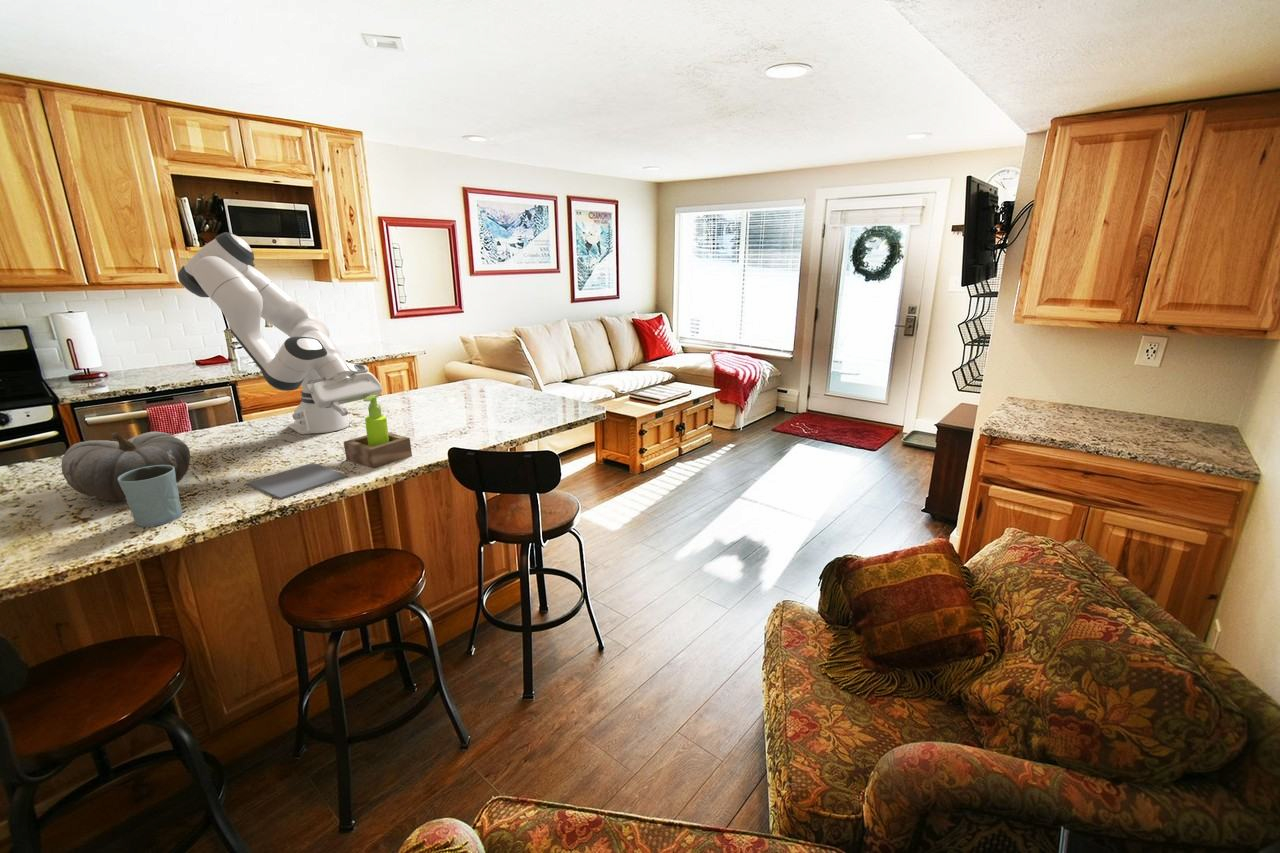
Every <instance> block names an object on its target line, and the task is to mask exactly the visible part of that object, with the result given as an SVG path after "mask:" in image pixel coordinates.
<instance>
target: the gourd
mask: <svg viewBox="0 0 1280 853" xmlns="http://www.w3.org/2000/svg"><path fill="white" fill-rule="evenodd" d="M111 437H112V438H113V439H114V440H116V441H114V440H105V439H104V440H103V439H102V440H94V439H93V440H86V441H80V442H76V443H73V444H72V445H71V446H69V447H68V449H67V450H66V452H65V453H64V454H63V456H62V458H61V473H62V475H63V477H64V479H65V481H66V482H67V484H68V485H69V487H71V488H72V489H74V490H75V491H76V492H77V493H79V494H82V495H85V496H87V497H91V498H96V499H99V500H105V501H111V502H117V501H122V500H127V499H126V496H125V495H124V492H123V490H122V489H121V486H120V484H119V482H118V477H119V476H120V475H122V474H124V473H126V472H128V471H131V470H134V469H138V468H142V467H147V466H154V465H171V466H173V467H174V468H175V475H176V483H177V484H178V483H179V482H181V481H182V480H183V478H184V477H185V475H186V474H187V473H188V471H189V468H190V465H191V464H190V462H191V461H190V460H191V451H190V448H189V447H188V445H187V443H185V442H184V441H183V440H181V439H179V438H177V437H176V436H173V435H172V434H170V433H167V432H163V431H149V432H144V433H141V434H139V435H135V436H132V437H131V438H129V439H126V438H124V437H123V436H121V435H120V434H119V432H113V433H111Z"/></svg>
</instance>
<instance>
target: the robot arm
mask: <svg viewBox="0 0 1280 853" xmlns="http://www.w3.org/2000/svg"><path fill="white" fill-rule="evenodd" d="M254 254H255V253H254V251H253V249H252V248H251V247H250V245H249V243H247V241H245V240H244V239H243V238H241V237H240V236H238V235H236V234H234V233H231V232H227V231H226V232H222V233H220V234H218V235H217V236H215V237H214V239H213V240H211V241H209V242H208V243H206V244H204V245H203V246H201V248H199V250H197V252H196V253H195V254H194V255H193V256H192V257H191V258H190V259H189V261H187V262H186V264H185V265H183V266H182V267H181V268H180V269H179V271H178V272H177V277H178V281H179V282H180V285H182V286H183V288H185V290H187V291H188V292H190V293H191V294H194V295H196V296H197V297H200V298H209V299H211V300H212V302H214V303H215V305H217V307H218V308H219V309H220V311H221V313H222V314H223V316H224V317H225V320H226V321H227V323H228V326H229V329H230V332H231V334H232V335H233V336H234V338H235V339H236V340H237V342H238V343H239V345H240V346H241V347H242V348H243V349H244V351H245V352H246V353H247V355H248V356H249V357H250V358H251V359H252V361H253V362H254V363H255V365H256V366H257V367H258V368H259V370H260V372H261V374H262V376H263V378H264V380H265V381H266V383H267V384H269V385H270V386H271V387H272V388H273V389H275V390H277V391H278V390H279V391H283V392H285V391H286V392H289V391H291V392H292V391H296V390H298V389H300V387H301V391H299V393H300V399H301V402H300V403H299V404H298V406H296V408H295V409H294V410H293V413H292V415H291V416H292V419H293V420H294V421H292V422H289V423H288V425H287V426H288V427H289V428H290V429H292V430H294V431H295V432H296V433H298V434H299V435H308V434H323V433H332V432H335V431H340V430H343V429H346V428H347V427H349V426H350V423H352V422H353V419H352V418H350V417H349V410H348V409H347V406H346V404H348V403H352V402H353V403H354V402H358V401H363V400H364V399H365V398H366V397H368V396H370V395H378V396H380V395H381V394H382V391H383V385H382V383H381V382H380V381H379V379H377V377H376V376H375V375H374V374H373V373H372V372H370V371H369V367H368V366H367V365H365V364H357V363H351V362H347V361H346V360H345V358H343V357H342V354H341V351H340V350H339V349H338V347H337V345H336V344H335V342H334V341H333V340H332V339H331V338H330V331H329V328H328V326H327V324H325V323H324V322H323V321H322V320H321V319H319V318H318V317H317V316H315V315H314V314H313V313H312V312H310V311H309V310H308V309H307V308H305V306H302V305H301V304H300V303H298V302H297V301H296V300H295V299H294V298H292V297H291V296H290V295H288V294H287V292H285V291H284V290H283V289H281V288H280V286H278V285H277V284H276V283H275V282H274V281H272V280H271V278H269V277H267V275H265V274H263V273H262V272H261V271H259V270H258V269H256V268H255V265H256V264H255V262H254V260H255V255H254ZM261 318H262V319H263V320H265V321H266V322H267V323H268V324H270V325H272V326H274V327H275V328H277V329H278V330H279V331H281V332H282V333H284V334H285V335H286V336H287V337H288V338H286V339H285V341H284V342H283V343H282V344H281V346H280V347H279V348H278V351H277V352H276V353H275V352H274V350H273V349H272V348H271V346H270V345H269V344H268V343H267V342H266V340H265V339H264V337H263V335H262V332H261ZM370 405H371V401H370V402H369V404H368V407H369V406H370Z"/></svg>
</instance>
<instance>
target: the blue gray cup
mask: <svg viewBox="0 0 1280 853" xmlns="http://www.w3.org/2000/svg"><path fill="white" fill-rule="evenodd" d="M118 482H119V484H120V486H121V489H122V490H123V492H124V495H125V496H126V499H125V500H126V503H127V505H128V507H129V510H130V513H131V515H132V518H133V520H134V522H135V524H136V525H137V526H138V527H140V528H141V527H142V528H151V527H157V526H163V525H165V524H168V523H172V522H173V521H176V520H178V519H180V518H181V517H182V516H183V509H182V505H181V501H180V495H179V488H178V483H176V475H175V468H174V467H173V466H171V465H154V466H147V467H142V468H138V469H134V470H131V471H128V472H126V473H124V474H122V475H120V476H119V477H118Z"/></svg>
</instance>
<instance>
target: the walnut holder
mask: <svg viewBox="0 0 1280 853" xmlns="http://www.w3.org/2000/svg"><path fill="white" fill-rule="evenodd" d="M388 436H389V442H387V443H384V444H381V445H378V446H374V447H372V446H369V445H368V439H367V434H365V435H363V436H359V437H355V438H352V439H348V440H345V441H343V447H344V454H345V459H346V461H348V462H351V463H353V464H356V465H359V466H364V467H367V468H370V469H372V470H375V469H379V468H382V467H384V466H386V465H387V466H388V465H390V464H393V463H397V462H399V461H402V460H405V459H407V458H411V457H412V456H413V454H412V452H413V451H412V447H411V446H412V444H411V438H410V437H407V436H404V435H401V434H397V433H396V434H395V433H393V432H389V431H388Z"/></svg>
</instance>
